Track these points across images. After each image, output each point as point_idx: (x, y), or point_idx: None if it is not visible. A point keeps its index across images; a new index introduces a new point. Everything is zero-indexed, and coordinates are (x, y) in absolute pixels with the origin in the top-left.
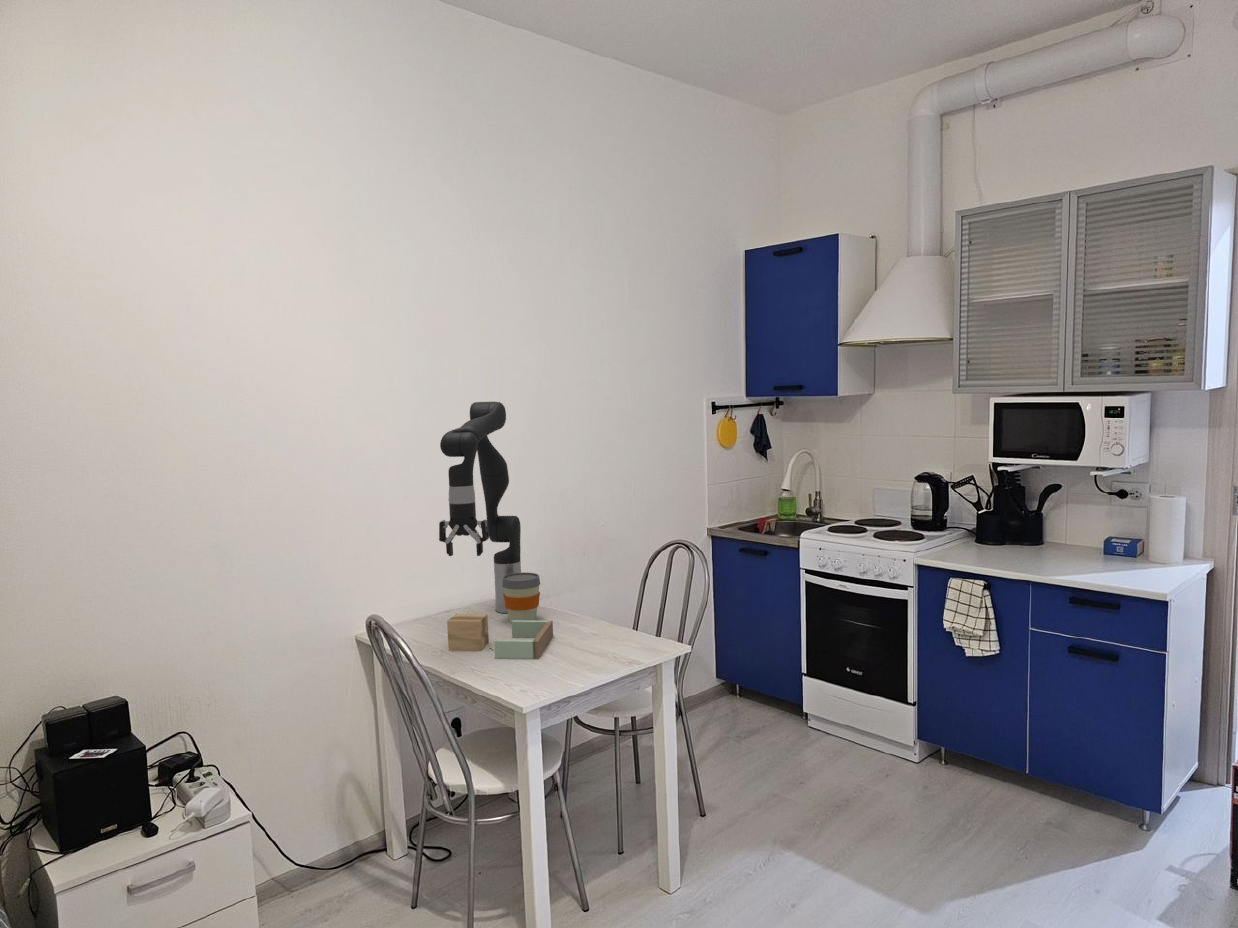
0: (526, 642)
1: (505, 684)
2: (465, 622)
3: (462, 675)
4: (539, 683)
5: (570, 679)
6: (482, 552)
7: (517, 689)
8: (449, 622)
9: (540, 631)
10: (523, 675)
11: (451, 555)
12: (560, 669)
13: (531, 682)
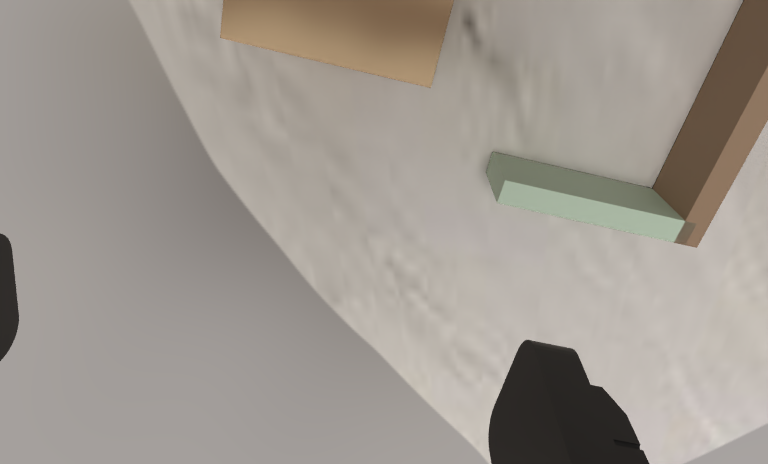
0: (644, 234)
1: None
2: (340, 64)
3: (368, 324)
4: None
5: (715, 410)
6: (604, 403)
7: None
8: (237, 40)
9: (759, 86)
10: None
11: (12, 316)
12: (712, 330)
13: None
